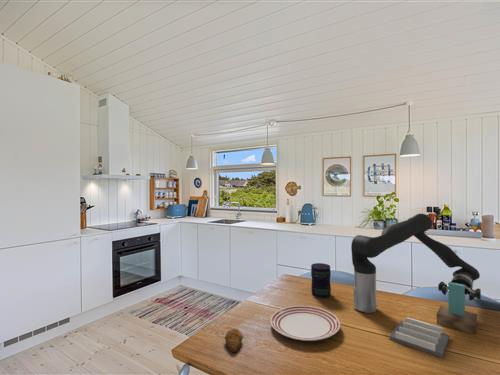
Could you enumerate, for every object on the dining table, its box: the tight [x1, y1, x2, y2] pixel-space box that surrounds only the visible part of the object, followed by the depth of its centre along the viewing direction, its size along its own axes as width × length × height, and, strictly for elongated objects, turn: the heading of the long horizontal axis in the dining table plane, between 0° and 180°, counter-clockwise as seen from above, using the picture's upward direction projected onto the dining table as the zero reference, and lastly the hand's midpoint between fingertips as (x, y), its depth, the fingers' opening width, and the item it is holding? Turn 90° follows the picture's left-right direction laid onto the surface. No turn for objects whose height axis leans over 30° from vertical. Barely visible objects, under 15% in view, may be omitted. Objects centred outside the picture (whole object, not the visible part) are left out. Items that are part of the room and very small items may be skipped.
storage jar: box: [310, 262, 332, 299], centre depth 140 cm, size 10×10×15 cm
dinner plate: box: [270, 305, 341, 342], centre depth 109 cm, size 28×27×3 cm
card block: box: [447, 281, 466, 317], centre depth 109 cm, size 5×2×12 cm, turn 46°
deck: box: [436, 304, 478, 335], centre depth 109 cm, size 12×10×4 cm
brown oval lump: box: [224, 328, 244, 354], centre depth 99 cm, size 14×7×5 cm, turn 2°
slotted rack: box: [389, 316, 451, 358], centre depth 99 cm, size 16×15×3 cm
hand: (457, 295), depth 111 cm, fingers open, 8 cm apart
